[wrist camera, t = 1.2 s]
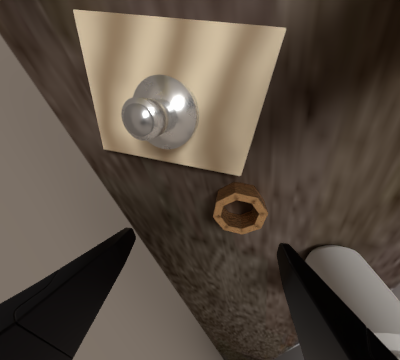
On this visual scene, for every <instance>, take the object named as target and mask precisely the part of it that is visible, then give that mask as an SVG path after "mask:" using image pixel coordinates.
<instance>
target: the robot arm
mask: <svg viewBox="0 0 400 360" xmlns="http://www.w3.org/2000/svg"><path fill="white" fill-rule="evenodd" d="M135 240H136V236H135V234H134V231H133V229H132V228H125V229H123V230H121V231H120V232H118V233H117V234H115V235H113V236H112V237H110V238H108V239H107V240H105V241H104V242H102V243H100V244H99V245H97V246H96V247H94V248H92V249H91V250H89V251H88V252H86V253H84V254H83V255H81V256H80V257H78V258H76V259H75V260H73V261H71V262H70V263H68V264H67V265H65V266H63V267H62V268H60V269H59V270H57V271H55V272H54V273H52V274H51V275H49V276H47V277H46V278H44V279H42V280H41V281H39V282H38V283H36V284H34V285H32V286H31V287H29V288H27V289H25V290H24V291H22V292H20V293H18V294H17V295H15V296H13V297H12V298H10V299H8V300H6V301H4V302H2V303H1V304H0V360H72V359H73V357H74V356H75V354H76V352H77V350H78V348H79V346H80V345H81V343H82V341H83V339H84V337H85V335H86V334H87V332H88V330H89V328H90V326H91V325H92V323H93V321H94V319H95V317H96V316H97V314H98V312H99V310H100V308H101V306H102V305H103V303H104V301H105V299H106V297H107V295H108V294H109V292H110V290H111V288H112V286H113V285H114V283H115V281H116V279H117V277H118V276H119V274H120V272H121V270H122V268H123V266H124V264H125V262H126V260H127V258H128V256H129V254H130V251H131V249H132V247H133V245H134V242H135ZM277 259H278V264H279V270H280V275H281V280H282V285H283V289H284V293H285V296H286V300H287V303H288V306H289V310H290V313H291V316H292V320H293V323H294V326H295V330H296V333H297V336H298V340H299V343H300V346H301V349H302V353H303V356H304V359H305V360H399V359H398V358H397V357H396V356H395V355H394V354H393V353H392V352H391V351H390V350H389V349H388V348H387V347H386V346H385V345H384V344H383V343H382V342H381V341H380V340H379V339H378V337H377V336H376V335H375V334H374V333H373V332H372V331H371V330H370V329H369V328H366V325H365V324H364V323H363V322H362V321H361V320H360V319H359V318H358V317H357V315H356V314H355V313H354V312H353V311H352V310H351V309H350V308H349V307H348V306H347V305H346V304H345V303H344V302H343V301H342V300H341V299H340V298H339V296H338V295H337V294H336V293H335V292H334V291H333V290H332V289H331V288H330V287H329V286H328V285H327V284H326V283H325V282H324V281H323V280H322V279H321V278H320V276H319V275H318V274H317V273H316V272H315V271H314V270H313V269H312V268H311V267H310V266H309V265H308V264H307V263H306V262H305V261H304V260H303V259H302V258H301V256H300V255H299V254H298V253H297V252H296V251H295V250H294V249H293V248H292V247H291V246H290V245H289V244H286V243H280V244H279V247H278V251H277Z"/></svg>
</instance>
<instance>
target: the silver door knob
mask: <svg viewBox="0 0 400 360" xmlns="http://www.w3.org/2000/svg"><path fill="white" fill-rule="evenodd" d="M121 116H122V121H123V124H124V126H125V128H126V130H127V131H128V132H129V133H130V134H131V135H132V136H133V137H134V138H136V139H138V140H142V141H148V142H149V143H151V144H152V145H154V146H156V147H158V148H162V149H175V148H178V147H180V146H182V145H183V144H185V143H186V142H187V141H188V140H189V139H190V138H191V137H192V136H193V135H194V133H195V132H196V129H197V127H198V123H199V108H198V104H197V101H196V99H195V96H194V95H193V93H192V92H191V90H190V89H189V88H188V87H187V86H186V85H185V84H184V83H182V82H180V81H179V80H177V79H174V78H172V77H169V76H166V75H152V76H149V77H147V78H145V79H144V80H143V81H142V82H141V83H140V84H139V85H138V86H137V88H136V90H135V92H134V95H133V98H130V99H128V100H127V101H126V102H125V103H124V105H123V107H122V112H121Z"/></svg>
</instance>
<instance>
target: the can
mask: <svg viewBox="0 0 400 360" xmlns="http://www.w3.org/2000/svg"><path fill="white" fill-rule="evenodd" d="M305 262H306V263H307V264H308V265H309V266H310V267H311V268H312V269H313V270H314V271H315V272H316V273H317V274H318V275H319V276H320V278H321V279H322V280H323V281H324V282H325V283H326V284H327V285H328V286H329V287H330V288H331V289H332V290H333V291H334V292H335V293H336V294H337V295H338V296H339V298H340V299H341V300H342V301H343V302H344V303H345V304H346V305H347V306H348V307H349V308H350V309H351V310H352V311H353V312H354V313H355V314H356V315H357V317H358V318H359V319H360V320H361V321H362V322H363V323H364V324H365V325H366V328H369V329H370V330H371V331H372V332H373V333H374V334H375V335H376V336H377V337H378V339H379V340H380V341H381V342H382V343H383V344H384V345H385V346H386V347H387V348H388V349H389V350H390V351H391V352H392V353H393V354H394V355H395V356H396V357H397V358H398V359H399V360H400V301H399V300H398V299H397V298H396V296H395V295H394V294H393V293H392V292H391V290H390V289H389V288H388V287H387V286H386V285H385V283H384V282H383V281H382V280H381V279H380V278H379V276H378V275H377V274H376V273H375V272H374V271H373V269H372V268H371V267H370V266H369V265H368V264H367V262H366V261H365V260H364V259H363V258H362V256H361V255H360V254H359V253H357V252H356V251H355V250H352V249H349V248H346V247H341V246H337V245H325V246H321V247H318V248H316V249H314V250H312V251H311V252H310V254H309V255H308V256H307V258H306V260H305Z"/></svg>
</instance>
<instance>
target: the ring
mask: <svg viewBox="0 0 400 360" xmlns="http://www.w3.org/2000/svg"><path fill="white" fill-rule="evenodd" d="M235 200H238V201H243V202H248V203H252V204H253V209H252V211H249V212H247V213H244V214H242V215H238V214H234V213H229V212H228V211H227V210H226V209H225V207H224V205H226V204H229V203H231V202H233V201H235ZM267 215H268V211H267V208H266V205H265V202H264V200H263V198H262V197H261V195H260V194H259V192H258V191H257V189H256V188H255V186H253V185H248V184H243V183H238V182H233V183H231V184H229V185H227V186H225V187H223V188H221V189H220V190H218V194H217V198H216V202H215V208H214V214H213V218H214V219H215V220H216V221H217V222H218V224H219V225H220V226H221V227H222V228H223V230H226V231H231V232H235V233H239V234H245V233H248V232H251V231H254V230H257V229H260V228H261V227H262V225H263V223H264V221H265V219H266V217H267Z"/></svg>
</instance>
